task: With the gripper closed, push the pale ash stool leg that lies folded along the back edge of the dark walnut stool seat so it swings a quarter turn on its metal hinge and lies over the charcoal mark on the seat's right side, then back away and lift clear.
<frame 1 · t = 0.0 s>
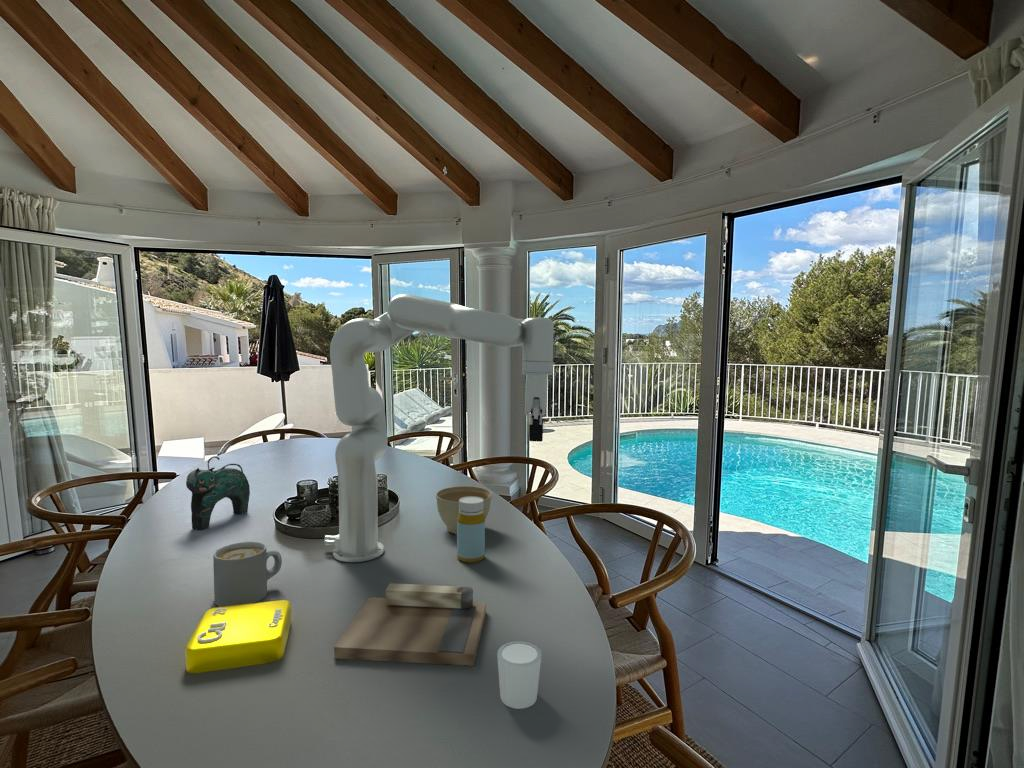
hand: (536, 437, 131), 31 cm above the table, tool pointing down, fingers open, 9 cm apart
stool seat: (416, 633, 99), on the table
coffee mug: (250, 595, 113), on the table
ceramic cat: (219, 521, 160), on the table
bottle: (470, 558, 134), on the table
element tile: (242, 646, 95), on the table
shot glass: (518, 697, 82), on the table
folding leg: (430, 595, 106), point 4 cm above the table, hinge at 0.0°
planter bowl: (463, 530, 155), on the table
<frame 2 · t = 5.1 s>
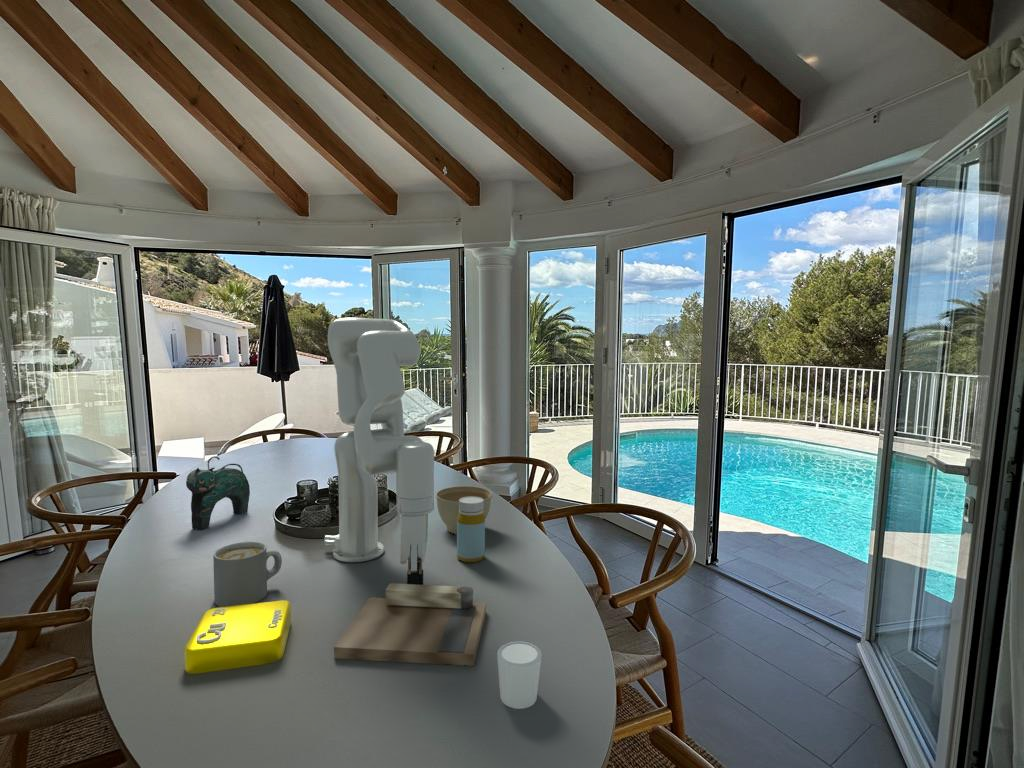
hand: (415, 590, 109), 3 cm above the table, tool pointing down, fingers closed
folding leg: (430, 595, 106), point 4 cm above the table, hinge at 0.0°, touching gripper
everything else where it was.
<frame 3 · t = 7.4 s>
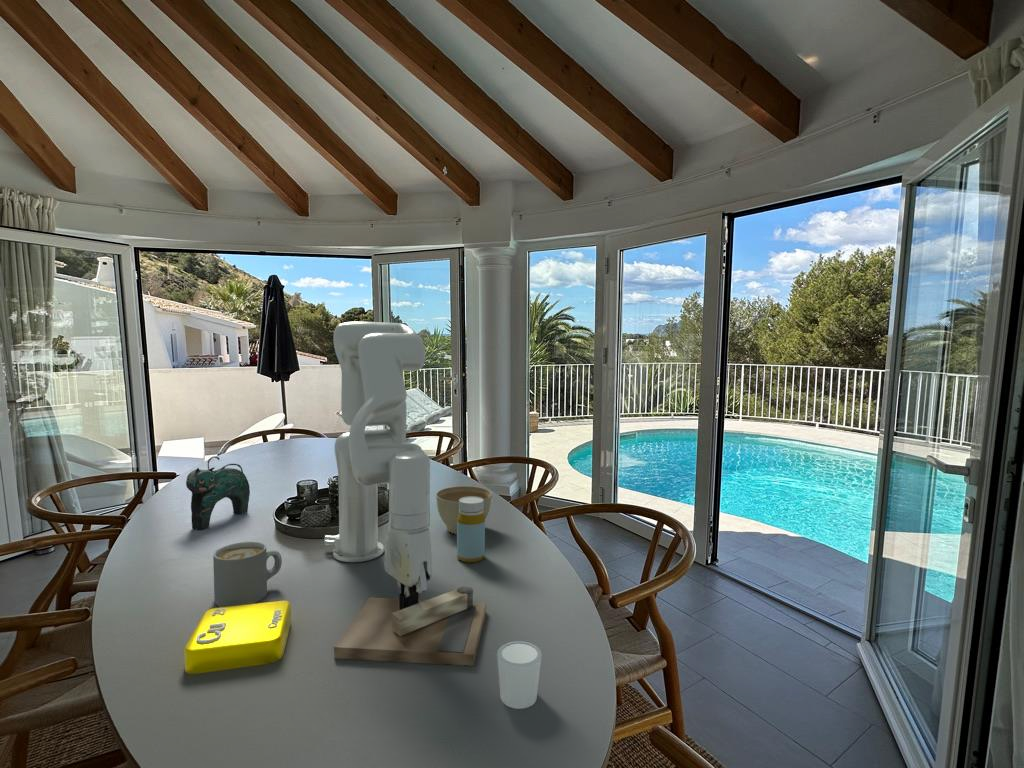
hand: (408, 612, 101), 3 cm above the table, tool pointing down, fingers closed
folding leg: (435, 608, 100), point 4 cm above the table, hinge at 46.6°, touching gripper
everything else where it was.
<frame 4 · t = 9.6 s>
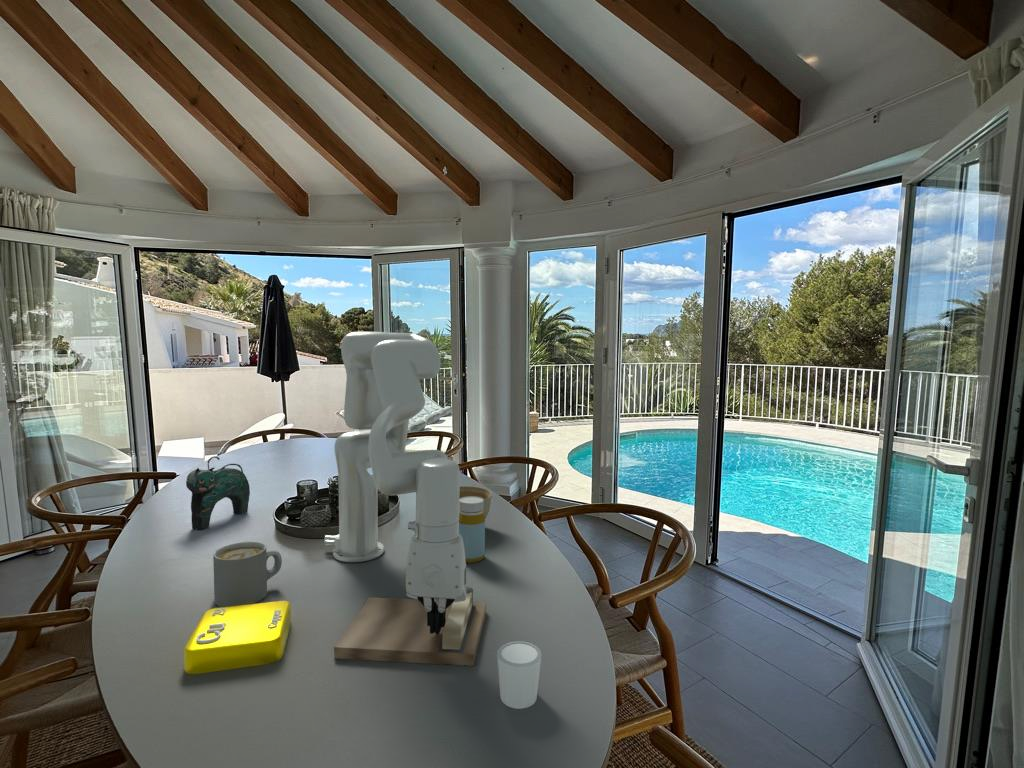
hand: (436, 629, 95), 3 cm above the table, tool pointing down, fingers closed
folding leg: (459, 615, 98), point 4 cm above the table, hinge at 90.4°, touching gripper
everything else where it was.
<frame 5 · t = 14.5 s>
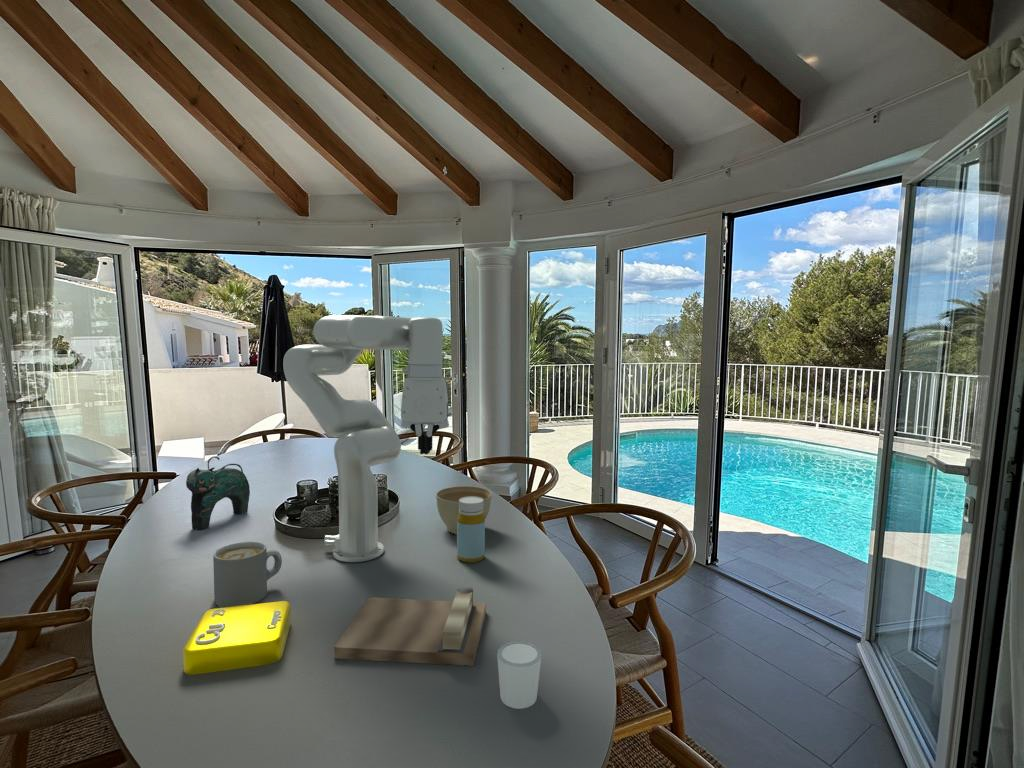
hand: (425, 452, 121), 29 cm above the table, tool pointing down, fingers closed
folding leg: (459, 615, 98), point 4 cm above the table, hinge at 90.6°
everything else where it was.
at the end: folding leg at +91° (first picture: +0°); the gripper is holding nothing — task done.
